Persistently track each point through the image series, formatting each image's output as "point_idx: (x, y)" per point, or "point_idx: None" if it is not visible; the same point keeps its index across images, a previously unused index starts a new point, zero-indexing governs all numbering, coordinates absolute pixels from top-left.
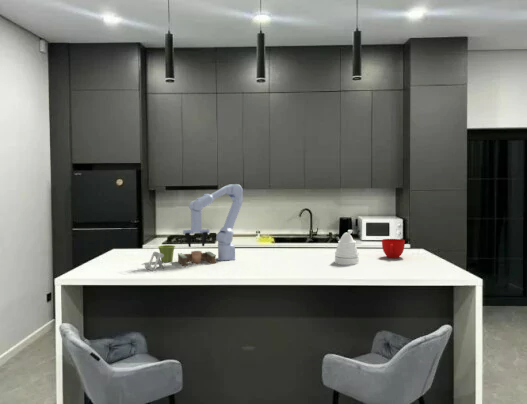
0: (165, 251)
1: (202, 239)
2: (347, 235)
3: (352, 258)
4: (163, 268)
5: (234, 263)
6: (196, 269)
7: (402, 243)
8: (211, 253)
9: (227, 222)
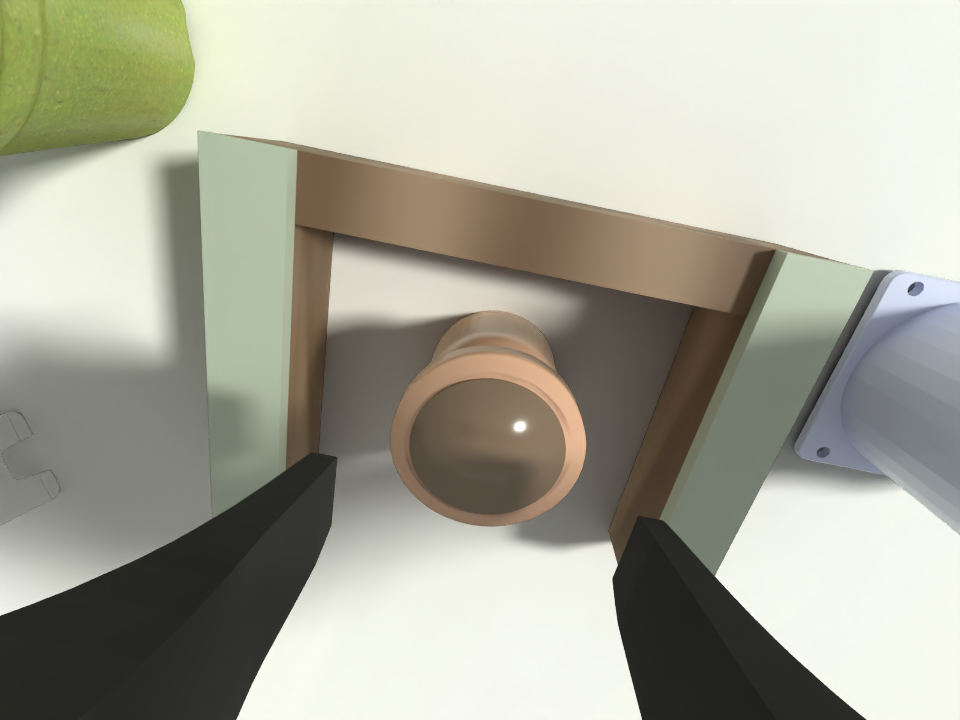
0: None
1: (705, 673)
2: None
3: None
4: (53, 489)
5: (805, 634)
6: (347, 662)
7: None
8: (728, 495)
9: None
